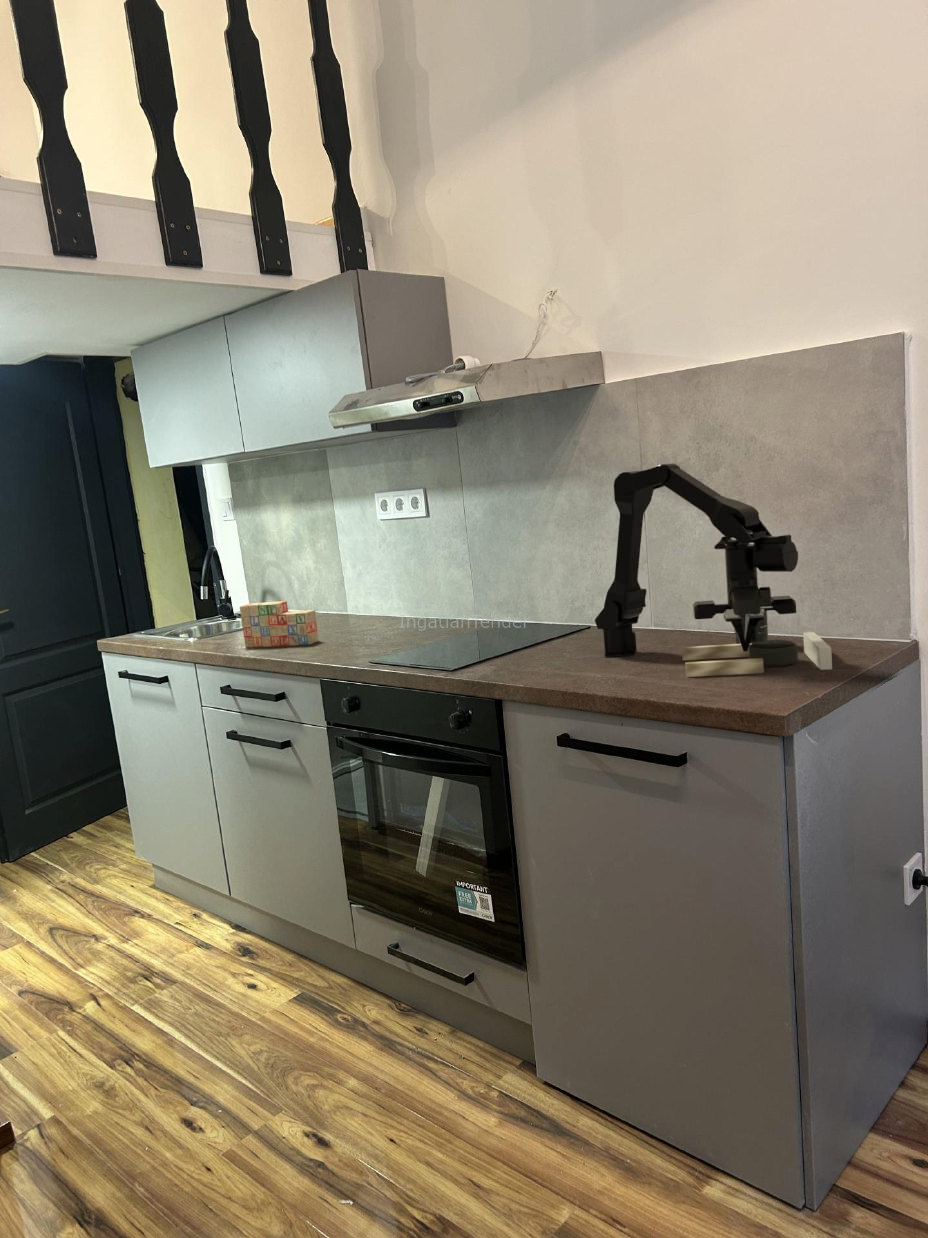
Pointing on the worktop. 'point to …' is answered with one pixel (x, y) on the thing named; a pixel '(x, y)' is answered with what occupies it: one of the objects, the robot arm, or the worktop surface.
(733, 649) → the tunnel walls
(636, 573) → the robot arm
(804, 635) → the block
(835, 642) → the worktop surface
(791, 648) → the smart speaker
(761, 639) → the supplement bottle
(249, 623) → the stack of blocks
